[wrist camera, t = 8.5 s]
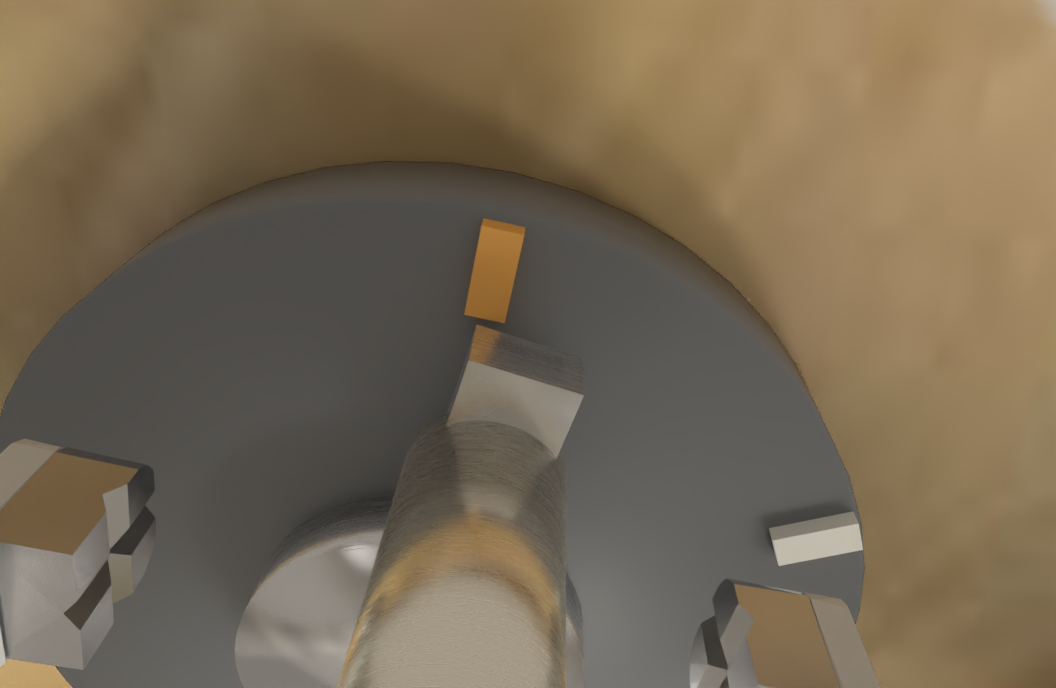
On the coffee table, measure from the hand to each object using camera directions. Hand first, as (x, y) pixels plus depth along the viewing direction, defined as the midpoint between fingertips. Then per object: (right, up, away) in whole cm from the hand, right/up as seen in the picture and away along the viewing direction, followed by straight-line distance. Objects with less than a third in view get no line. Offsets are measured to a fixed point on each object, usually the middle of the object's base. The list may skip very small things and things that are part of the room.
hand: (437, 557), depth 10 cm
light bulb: (0, -1, +4) cm, 4 cm away
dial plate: (-1, -1, +7) cm, 7 cm away
